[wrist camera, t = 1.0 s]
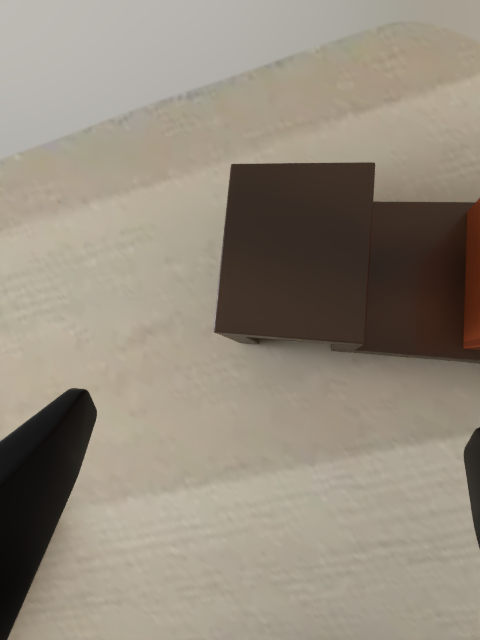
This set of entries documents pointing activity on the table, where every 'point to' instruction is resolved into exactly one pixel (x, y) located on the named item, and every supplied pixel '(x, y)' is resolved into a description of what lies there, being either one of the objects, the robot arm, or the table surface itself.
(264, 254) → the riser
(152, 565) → the table surface
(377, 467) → the table surface
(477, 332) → the book
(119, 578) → the table surface
